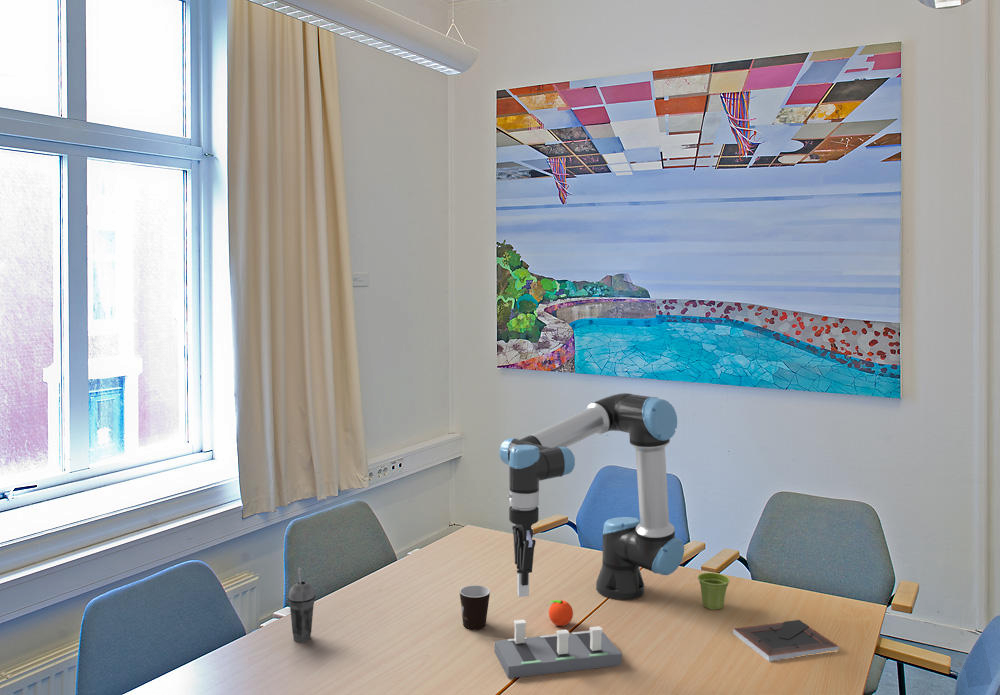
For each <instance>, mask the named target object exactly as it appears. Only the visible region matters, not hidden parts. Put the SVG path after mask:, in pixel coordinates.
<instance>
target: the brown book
mask: <svg viewBox="0 0 1000 695" xmlns="http://www.w3.org/2000/svg"><path fill="white" fill-rule="evenodd" d="M732 631H733V632H732V634H733V635H734V636H735V635H736V638H738V639H739V640H740V639H741V640H740V641H742V642H743V643H744V644H746V645H747V646H748V647H749V648H750V649H752V650H753V651H754V650H755V652H756V653H757V654H758V653H759V655H760V656H761V657H762V658H763V657H764V658H763V659H765V660H766V661H767V660H768V661H767V662H769V661H770V662H774V661H773V660H777V661H781V660H780V659H785V658H792V657H797V656H802V655H808V654H809V655H810V654H816V653H821V652H826V651H835V650H839V649H840V647H839V645H838V644H836V643H834V642H833V641H832V640H830V639H829V638H827V637H825V636H824V635H823V634H821V633H819V632H818V631H816V630H815V629H814V628H811V627H810V626H809V625H808V624H807V623H805V622H803V621H802V620H800V619H797V620H796V619H795V620H787V621H783V622H776V623H769V624H767V623H766V624H760V625H751V626H743V627H736V628H733V630H732ZM792 659H793V658H792ZM785 660H786V659H785Z"/></svg>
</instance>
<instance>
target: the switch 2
mask: <svg viewBox="0 0 1000 695" xmlns="http://www.w3.org/2000/svg"><path fill="white" fill-rule="evenodd" d="M603 630H604V629H603V628H602V627H601V626H600V625H598V626H589V630H588V631H590V649H591V650H592V651H596V650H601V635H602V633H604V631H603Z"/></svg>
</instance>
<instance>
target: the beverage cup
mask: <svg viewBox="0 0 1000 695" xmlns="http://www.w3.org/2000/svg"><path fill="white" fill-rule="evenodd" d="M297 570H298V571H297V572H298V582H296V583H294V584H293V585H292V586H291V587H290V589H289V593H288V597H287V600H288V605H289V611H290V620H291V630H292V637H293V639H292V640H293V641H295V642H297V643H305V642H307V641H310V640H311V636H312V631H313V630H312V627H313V618H314V616H313V615H314V605H315V600H316V592H315V588H314V586H312V584H311V583H309V582H307V581H302V576H301V567H298V569H297Z"/></svg>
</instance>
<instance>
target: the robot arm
mask: <svg viewBox="0 0 1000 695" xmlns="http://www.w3.org/2000/svg"><path fill="white" fill-rule="evenodd" d="M677 428H678V416H677V412H676V410H675V408H674V406H673V404H672V403H670V401H668V400H666V399H662V398H659V397H656V396H646V395H640V394H632V393H626V392H624V393H617V394H612V395H609V396H607V397H604V398H601V399H598V400H596V401H594V402H591V403H589V404H588V405H587V406H586V407H585V410H582V411H580V412H577V413H576V414H574V415H572V416H569V417H567V418H565V419H562V420H561V421H560V420H559V421H558V422H556V423H554V424H552V425H549V426H547V427H544V428H542V429H541V430H538V431H536V432H534V433H532V434H530V435H528V436H525V437H522V438H520V439H519V438H515V437H514V438H512V437H511V438H506V439H505V440H504V441H503V442H502V443H501V444H500V447H499V452H498V453H499V458H500V460H501V462H502V463H503V464H505V465H508V468H509V469H508V471H509V473H508V474H509V475H508V476H509V494H507V495H506V496H507V499H509V510H508V519H509V522H510V523H511V524H513V526H512V534H513V548H514V549H513V551H514V552H513V554H514V564H515V566H516V573H517V574H516V575H517V576H516V577H517V578H516V579H517V583H516V584H517V586H516V587H517V588H516V589H517V592H516V595H517V597H518V598H523V597H529V596H530V573H533V564H534V553H535V546H536V543H537V542H536V539H533V536H534V529H533V528H532V526H533V525H534V524H537V523H538V522H539V516H540V515H539V507H538V506H539V505H540V481H545V480H549V479H555V478H558V477H559V478H560V477H563V476H566V475H569V474H571V473H572V472H573V470H574V468H575V465H576V464H575V463H576V462H575V461H576V460H575V459H576V458H575V455H574V453H573V452H572V449H570V448H569V447H570V446H572V445H574V444H577V443H578V442H579V443H580V442H581V441H583V440H584V439H587V438H588V437H591V436H593V435H595V434H599V435H603V434H606V433H608V432H610V431H611V432H613V431H615V432H623V433H626V434H629V435H628V436H629V444H630V445H631V446H632V447H634V449H635V461H636V463H635V464H636V479H637V491H638V492H637V493H638V494H637V495H638V509H639V518H637V517H631V516H621V517H620V516H619V517H614V518H613V517H612V518H609V519H607V520H606V521H605V522H604V523H603V532H602V563H601V564H602V565H601V568H600V571H599V573H598V576H597V580H596V583H595V584H596V585H595V587H596V588H595V590H596V591H597V592H598V594H599V595H602V596H603V597H606V598H609V599H613V600H622V601H623V600H624V601H626V600H634V599H638V598H640V597H642V596H644V594H645V582H644V579H643V576H642V572H641V569H640V568H642V569H645V570H647V571H650V572H652V573H654V574H658V575H661V576H669V575H672V574H673V573H675V571H676V570H677V569H678V568H679V567H680V565H681V563H682V562H683V557H684V554H685V544H684V542H683V541H682V540H681V539H680V538H678V537H676V530H675V526H674V525H673V524H672V523H671V522H670V515H669V514H670V513H669V494H668V479H667V478H668V477H667V463H666V447H667V446H668V445H669V443H670V442H671V438H673V437H674V435H675V433H676V429H677Z"/></svg>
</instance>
